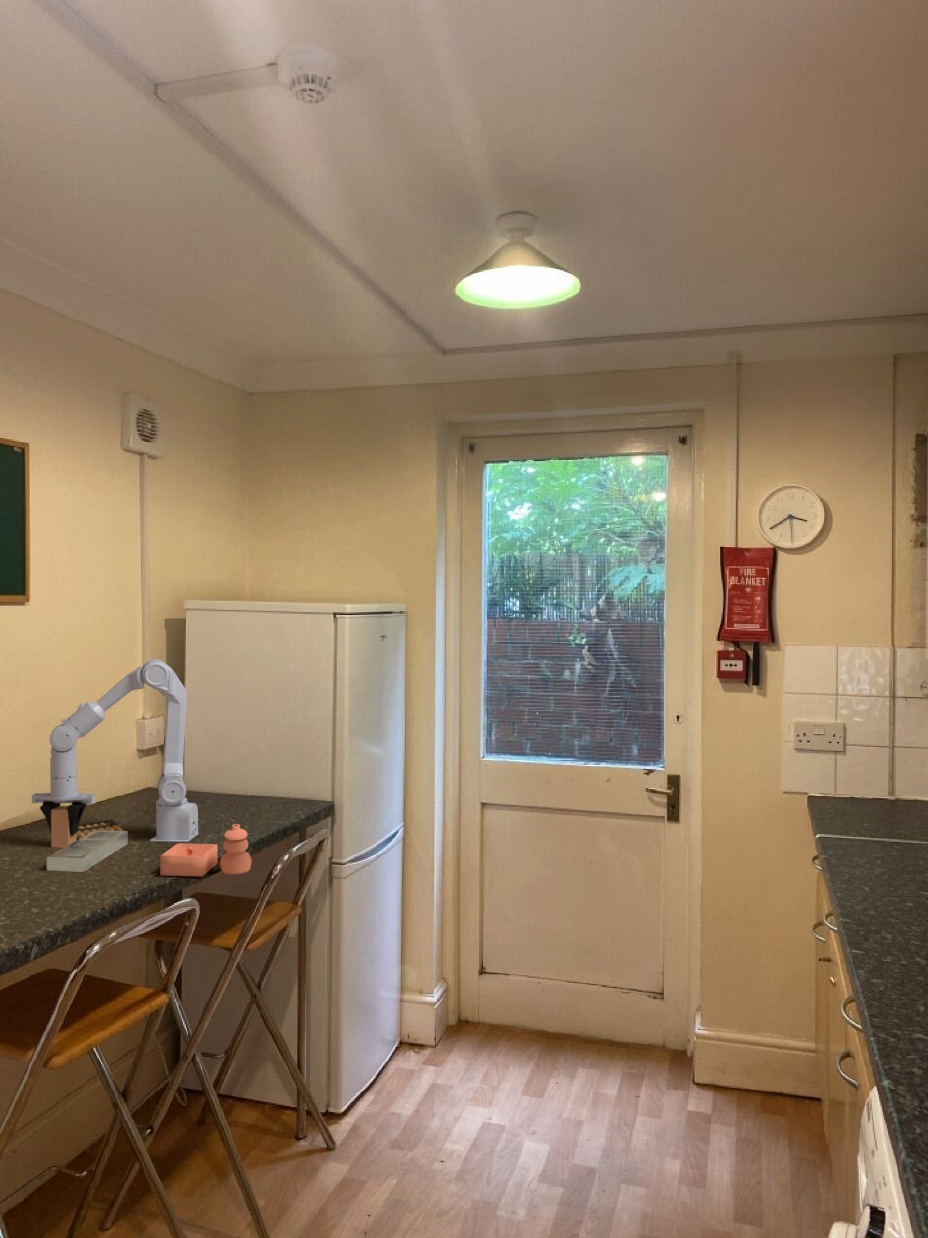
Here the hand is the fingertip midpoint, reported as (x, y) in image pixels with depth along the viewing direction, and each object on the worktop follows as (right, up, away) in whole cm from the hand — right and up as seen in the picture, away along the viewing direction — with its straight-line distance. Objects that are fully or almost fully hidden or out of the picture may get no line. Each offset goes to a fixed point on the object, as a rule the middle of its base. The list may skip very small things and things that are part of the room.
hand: (64, 833), depth 212 cm
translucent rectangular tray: (+10, -3, -8) cm, 13 cm away
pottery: (+39, -4, -17) cm, 43 cm away
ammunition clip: (0, -2, +14) cm, 14 cm away
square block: (0, -3, 0) cm, 3 cm away
